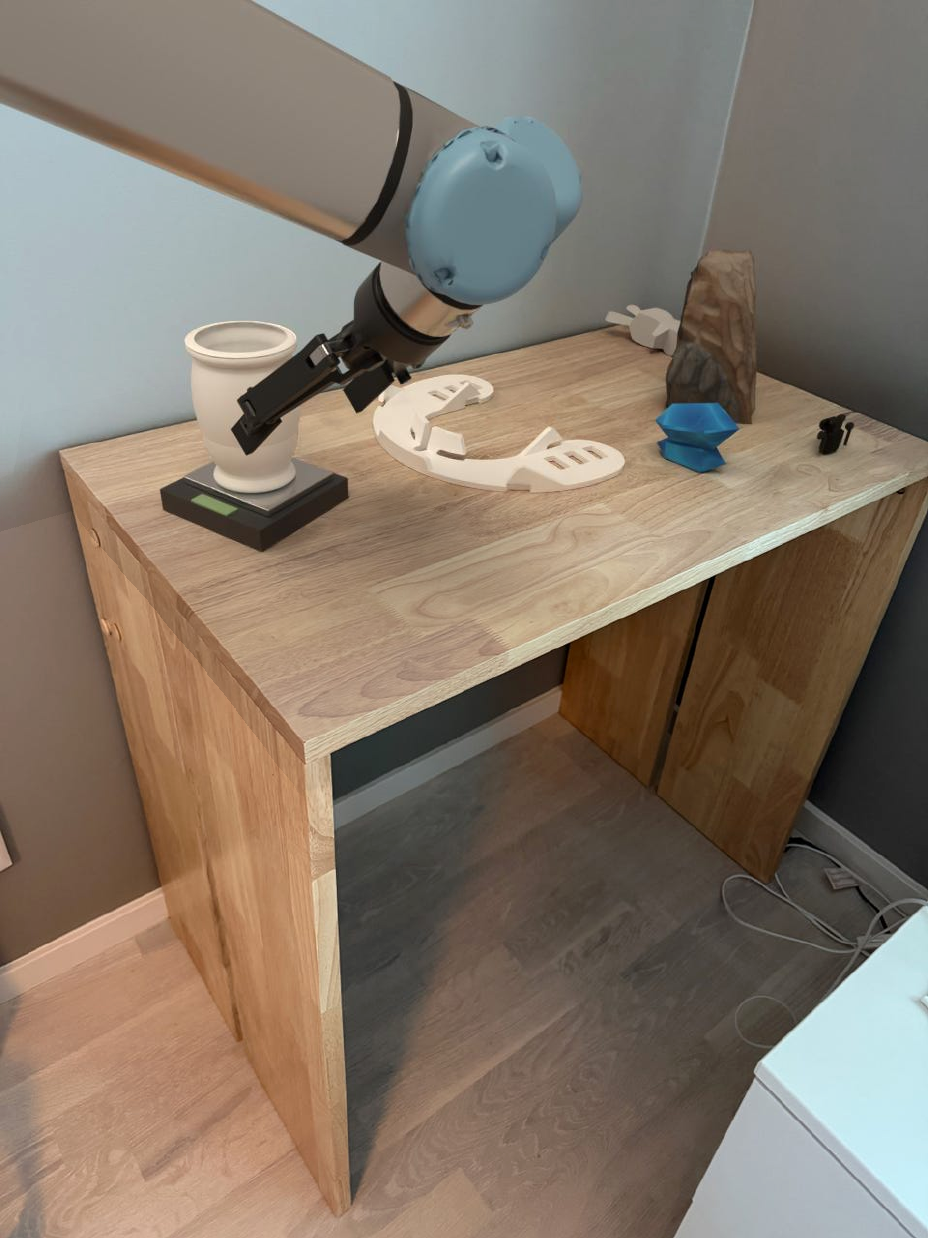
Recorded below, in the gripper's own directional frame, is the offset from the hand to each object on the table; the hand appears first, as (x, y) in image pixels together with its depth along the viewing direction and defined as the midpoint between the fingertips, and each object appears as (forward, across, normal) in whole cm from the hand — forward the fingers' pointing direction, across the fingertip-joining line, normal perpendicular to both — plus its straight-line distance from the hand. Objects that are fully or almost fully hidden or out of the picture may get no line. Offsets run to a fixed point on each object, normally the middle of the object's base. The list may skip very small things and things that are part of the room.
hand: (299, 420), depth 83 cm
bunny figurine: (+13, +79, -5) cm, 80 cm away
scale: (+15, +1, -3) cm, 15 cm away
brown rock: (0, +62, -18) cm, 64 cm away
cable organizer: (+11, +31, -7) cm, 34 cm away
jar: (+13, +1, -1) cm, 13 cm away
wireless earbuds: (-12, +61, -31) cm, 70 cm away
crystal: (-5, +44, -23) cm, 50 cm away
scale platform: (+13, +1, -1) cm, 14 cm away
